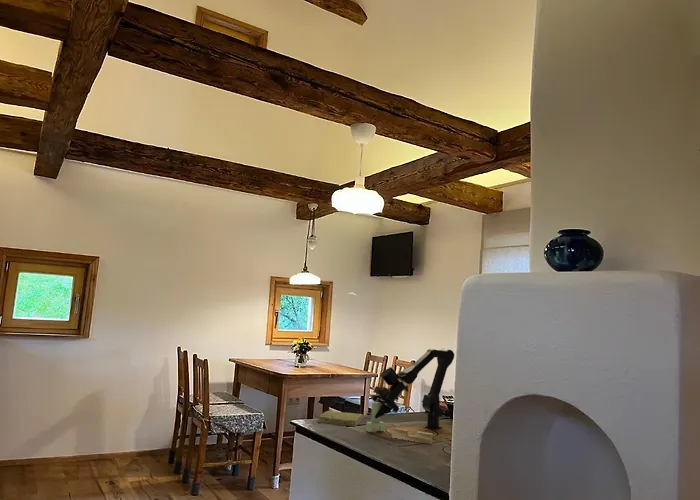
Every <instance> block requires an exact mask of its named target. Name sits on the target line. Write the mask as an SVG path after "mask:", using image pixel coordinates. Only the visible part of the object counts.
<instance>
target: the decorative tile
mask: <svg viewBox="0 0 700 500" xmlns="http://www.w3.org/2000/svg"><path fill="white" fill-rule="evenodd" d="M363 419H364V416H363V413H362V414H361V413H353V412H343V411H342V412H341V411H332V410H327V411H324V412H322V413H321V414H320V415H319V417H318V421H317V422H318V423H321V424H331V425H337V426H349V427H356V426H358V425H359V424H360V423H361V421H363Z"/></svg>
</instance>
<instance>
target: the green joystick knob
mask: <svg viewBox="0 0 700 500" xmlns="http://www.w3.org/2000/svg"><path fill="white" fill-rule="evenodd" d="M379 409H380V402H374V401H372V402H371V412H372V416H371V415H370V417H371V419H370V420H371V421H366V427H365V431H366V432H368V433H374V428H377V429H376V430H377V431H379V432H384V431H385V422H384V421H382V420H381V417H378V418H375V415H376V414H377V412H378V411H379Z"/></svg>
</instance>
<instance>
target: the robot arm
mask: <svg viewBox="0 0 700 500" xmlns="http://www.w3.org/2000/svg"><path fill="white" fill-rule="evenodd" d="M435 358H436V361H437V367H436V370H435V373H434V377H433V380H432V383H431V386H430V389H429V392H428V394H424V395H423V399H422V400H421V403H422V405H421V406H422V409H423V410H424V413H425V414H427V417H426V418H427V421H426V425H424V427H425V428H428V429H433V430H437V429H441V428H443V426H442V425H440V424H441V423H440V421H441V417H443V416H444V415H443V414H444V411H443V410H442V408H441V406H440V404H441V400H440V393H441V390H442V387H443V383H444V380H445V376H446V373H447V369H448V368H449V367H450V366H451V364H452V363H453V361H454V359H455V353H454V351H453V350H451V349H446V348H441V349H435V348H428V349H427V350H426V352H425V353H424V354H422V355H421V357H419V358H418V359H417V360H416V361H415V362H413V364H412V365H410V366H409V367H406V368H404V369H402V370H401V371H400V372H398V373H397V372H396V371H395V370H394V367H388V368H386V369H385V370H382V372H381V373H380V378H381V379H383V381H384V382H385V384H386V385H387V386H390V387H389V388H388V387H385V386H382V387H381V386H377V385H376V386H374V390H373V393H374V394H372V395H371V396H370V398H371V400H372V402H380V409H379V411H378V412H377V414H376V415H375V418H378V417H380V418H381V417H382V416H385V415H387V414H390V413H392V412H393V413H394V414H396V413H398V412H399V410H400V407H399V406H398V404H396V402H395V401H398V400H399V399H400V398H399V396H400V395H401V394H402V393H403V392H409V386H408V385H411V384H413V383H414V382H415V381H416V379H417V378H418V375H419V373H420V372H421V371H422V370H423V369H424V368H425V367H426V366H427V365H429V363H431V362H432V360H434V359H435ZM405 384H407V385H405ZM369 415H370V417H371V416H372V411H371V412H370V414H369Z"/></svg>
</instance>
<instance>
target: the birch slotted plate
mask: <svg viewBox="0 0 700 500" xmlns="http://www.w3.org/2000/svg"><path fill="white" fill-rule="evenodd" d="M391 431H392V432H391V438H392V439H395V438H397V439H396V440H402V439H403V440H402V441H408V440H409V441H410V442H414V441H415V443H420V444H421V443H422V444H426V445H428V444H429V445H431V444H433V433H432V432H431V433H430V432H424V431H416V432H415V435H413V434H409V429H404V428H397V427H392V429H391ZM409 441H408V442H409Z"/></svg>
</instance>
